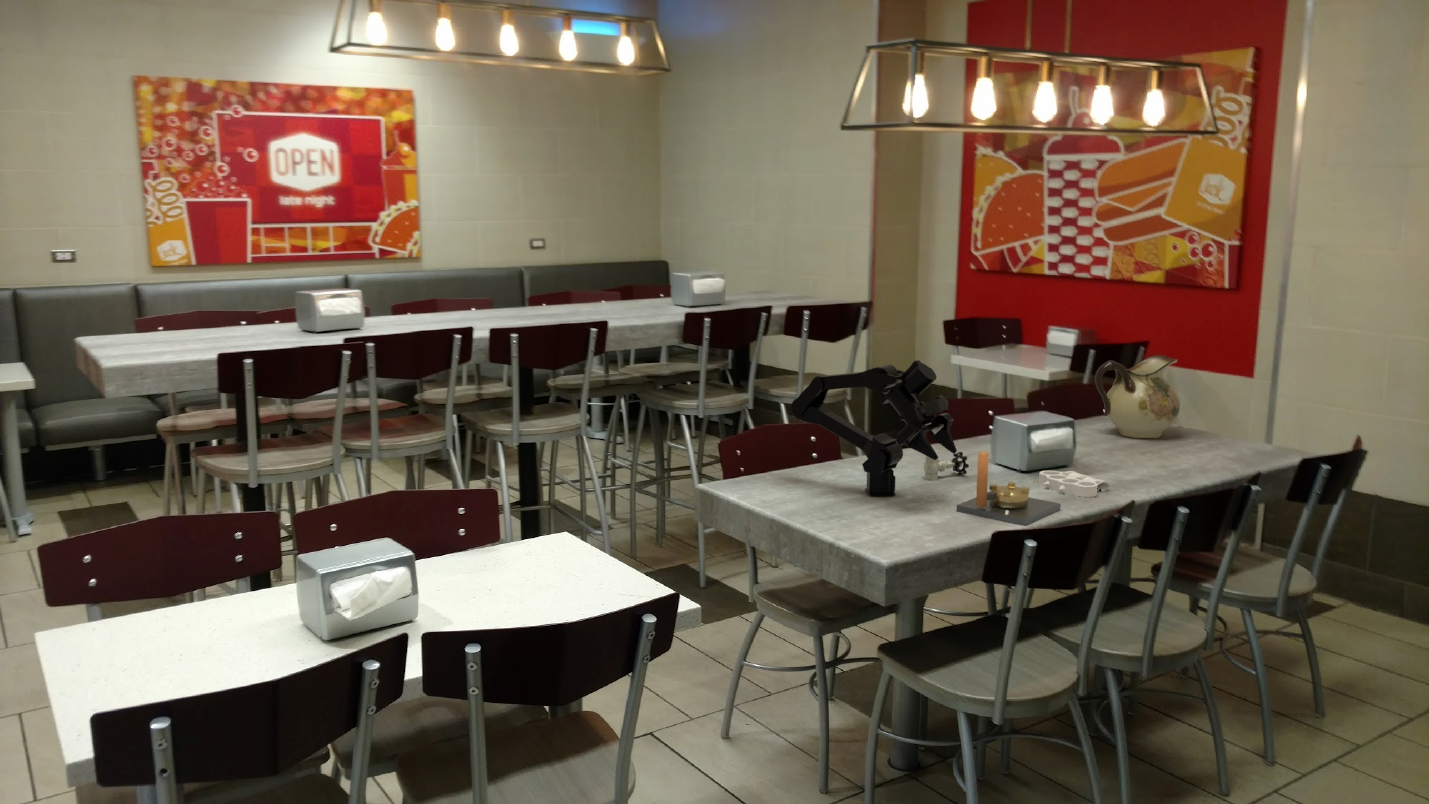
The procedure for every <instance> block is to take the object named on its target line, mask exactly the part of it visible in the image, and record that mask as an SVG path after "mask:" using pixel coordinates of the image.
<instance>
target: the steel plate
mask: <svg viewBox="0 0 1429 804" xmlns="http://www.w3.org/2000/svg"><path fill="white" fill-rule="evenodd" d="M1060 510H1061V503H1060V502H1054V501H1049V500H1043V499H1039V498H1033V497H1029V496H1028V506H1026V507H1023V508H1003V507H998V506H994V505H992V504H991V503H990V500H987V504H986V507H977V506H976V497H974V498H971V499H968V500H966V501H963V502H961V503H958V504H956V512H959V513H963V514H969V515H973V516H978V517H983V518H988V519H991V520H992V519H993V520H997V521H1002V522H1007V523H1010V524H1011V523H1012V524H1016V525H1020V526H1025V527H1026V526H1027V525H1030V524H1031V523H1034V522H1036V521H1038V520H1040V519H1043V518H1045V517H1047V516H1049V515H1052V514H1054V513H1056V512H1058V511H1060ZM1055 511H1056V512H1055Z"/></svg>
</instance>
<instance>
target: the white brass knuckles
mask: <svg viewBox="0 0 1429 804" xmlns="http://www.w3.org/2000/svg"><path fill="white" fill-rule="evenodd" d="M1038 474H1039V475H1038V476H1039V477H1038V484H1039V486H1044V487H1045V488H1046V489H1047V490H1049V489H1051V490H1050V491H1054V490H1055V492H1057V491H1059V492H1061V493H1060V494H1063V493H1064V495H1069V494H1074V495H1073V496H1075V495H1077V496H1082V497H1085V496H1087V497H1090V496H1096V495H1097V496H1098V492H1097V491H1099V489H1104V490H1105V491H1104V492H1106V491H1108V490H1109V489H1110V487H1111V485H1110V483H1109V482H1108V481H1106V480H1105V479H1098V478H1095V477H1092V476H1091V475H1087V474H1086V475H1085V474H1082V473H1078V472H1077V471H1073V470H1070V471H1069V470H1068V471H1059V470H1042V471H1039V473H1038ZM1097 488H1099V489H1097ZM1059 492H1058V493H1059ZM1077 496H1076V497H1077ZM1097 496H1096V497H1097ZM1082 497H1081V498H1082Z"/></svg>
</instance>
